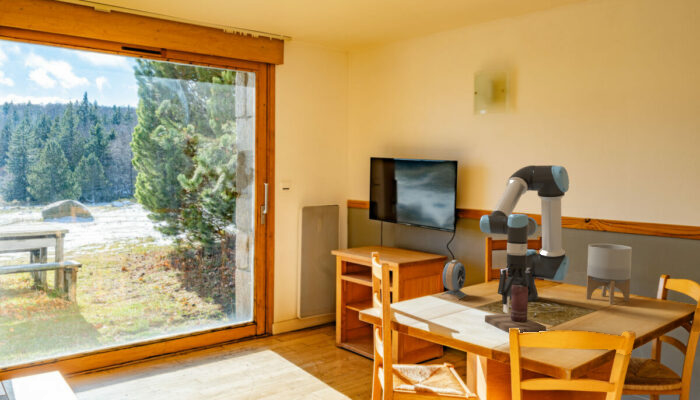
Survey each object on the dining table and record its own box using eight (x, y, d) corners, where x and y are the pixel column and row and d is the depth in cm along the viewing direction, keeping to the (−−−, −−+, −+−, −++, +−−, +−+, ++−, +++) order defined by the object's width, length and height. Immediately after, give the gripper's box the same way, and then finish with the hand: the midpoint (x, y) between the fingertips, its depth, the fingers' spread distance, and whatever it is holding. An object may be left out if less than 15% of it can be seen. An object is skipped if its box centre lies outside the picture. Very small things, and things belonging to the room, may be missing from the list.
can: (507, 318, 217) (508, 284, 216) (520, 317, 219) (521, 283, 218) (516, 323, 211) (517, 287, 210) (530, 321, 213) (531, 286, 213)
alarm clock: (457, 300, 257) (458, 263, 256) (438, 297, 262) (439, 261, 261) (468, 294, 269) (469, 259, 268) (449, 292, 274) (450, 257, 273)
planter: (590, 303, 256) (592, 248, 255) (583, 294, 275) (585, 242, 273) (634, 306, 252) (636, 250, 250) (623, 297, 270) (626, 244, 269)
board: (484, 321, 222) (484, 315, 222) (514, 318, 226) (514, 313, 226) (518, 337, 201) (518, 331, 200) (550, 334, 205) (550, 328, 205)
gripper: (500, 256, 206) (498, 316, 207) (544, 254, 213) (542, 312, 214) (489, 253, 213) (487, 311, 215) (532, 251, 220) (530, 307, 221)
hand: (514, 311), depth 214 cm, fingers open, 7 cm apart
